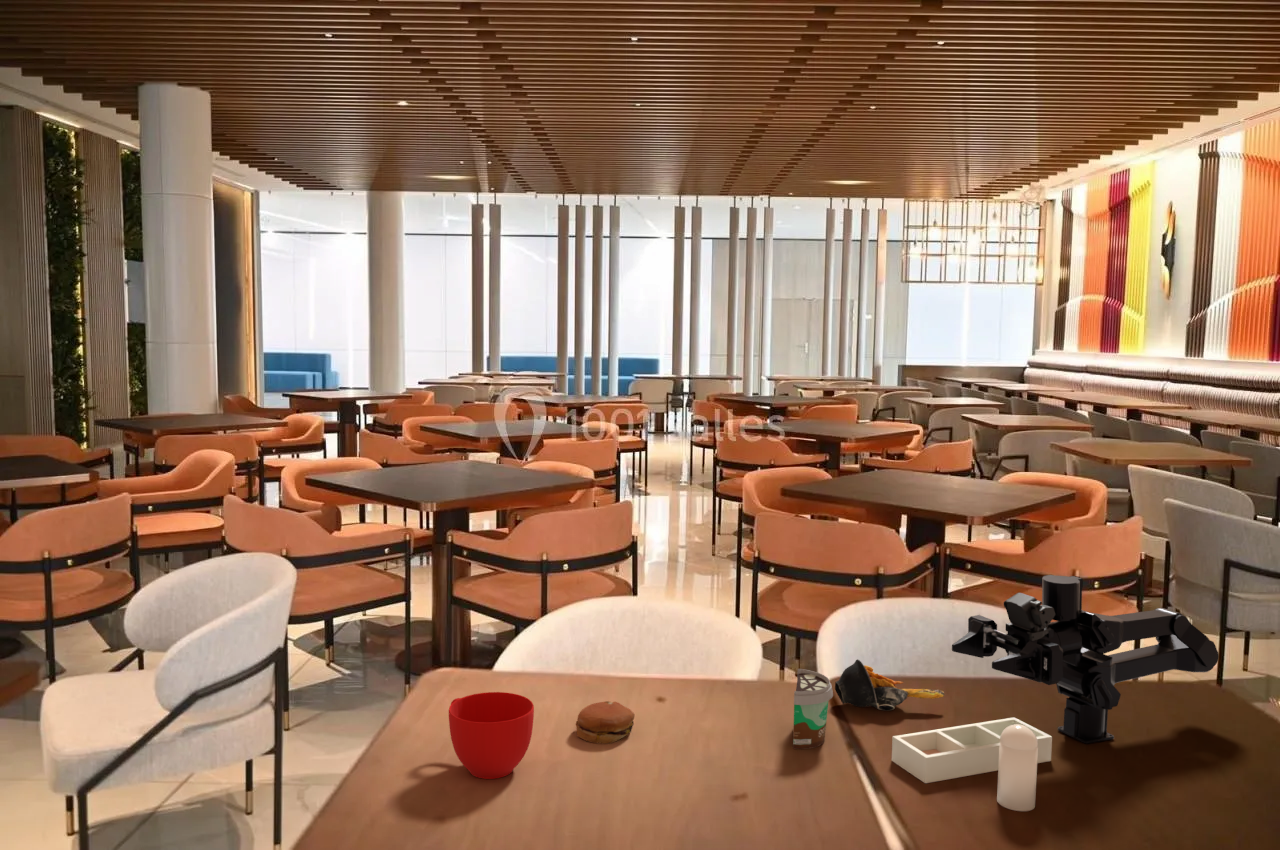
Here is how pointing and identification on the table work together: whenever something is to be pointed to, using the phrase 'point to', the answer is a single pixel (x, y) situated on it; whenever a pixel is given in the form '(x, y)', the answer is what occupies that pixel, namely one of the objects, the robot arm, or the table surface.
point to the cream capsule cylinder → (1017, 768)
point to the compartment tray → (958, 750)
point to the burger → (604, 722)
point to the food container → (810, 709)
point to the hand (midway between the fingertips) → (971, 656)
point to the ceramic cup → (491, 732)
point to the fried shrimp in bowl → (875, 689)
